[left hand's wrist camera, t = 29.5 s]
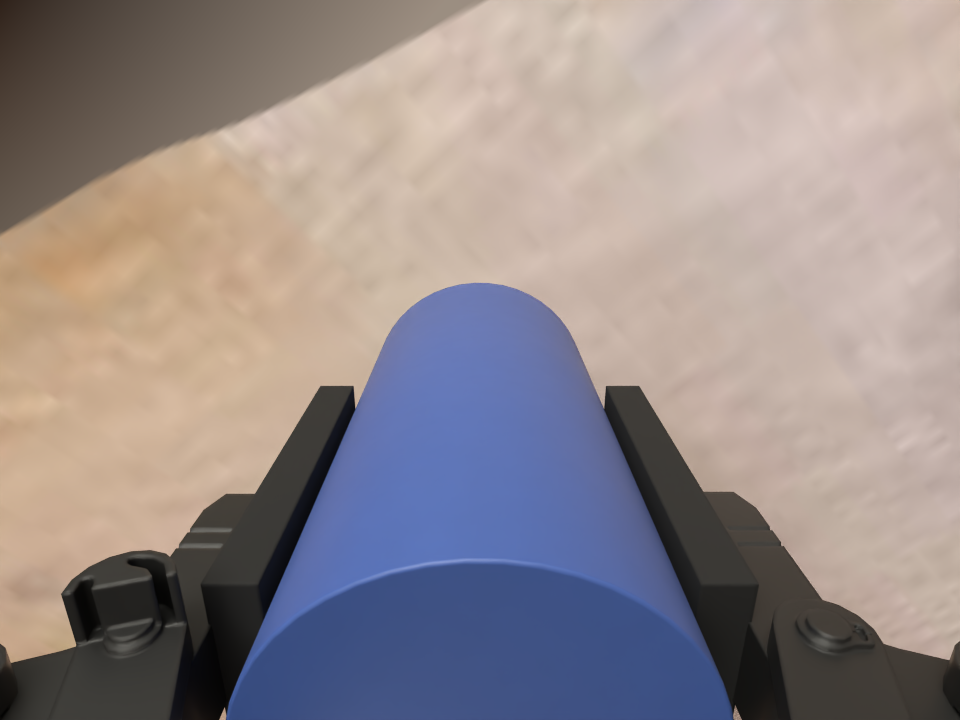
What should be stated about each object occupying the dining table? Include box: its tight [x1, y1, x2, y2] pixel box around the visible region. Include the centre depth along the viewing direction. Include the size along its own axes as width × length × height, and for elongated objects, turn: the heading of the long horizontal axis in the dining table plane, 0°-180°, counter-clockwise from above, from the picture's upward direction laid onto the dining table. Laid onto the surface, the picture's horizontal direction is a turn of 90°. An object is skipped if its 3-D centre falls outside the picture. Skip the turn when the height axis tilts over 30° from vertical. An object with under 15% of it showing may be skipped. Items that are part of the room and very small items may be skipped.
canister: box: [226, 283, 734, 720], centre depth 12 cm, size 6×6×11 cm
